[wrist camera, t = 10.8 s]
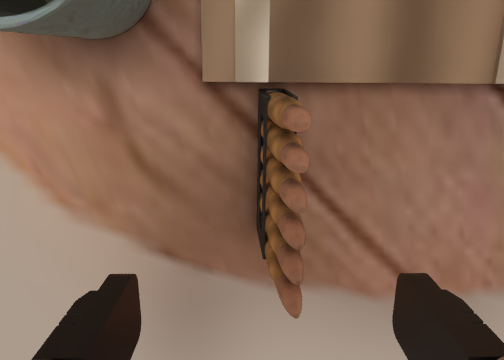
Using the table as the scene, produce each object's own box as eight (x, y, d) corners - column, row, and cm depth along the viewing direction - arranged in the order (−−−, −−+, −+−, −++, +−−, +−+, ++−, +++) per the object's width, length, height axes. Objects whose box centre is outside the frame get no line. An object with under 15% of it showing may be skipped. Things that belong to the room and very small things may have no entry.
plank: (602, -27, 25) (655, -42, 21) (576, 83, 26) (621, 84, 23) (204, -33, 24) (198, -50, 21) (207, 80, 26) (202, 81, 23)
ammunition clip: (280, 230, 29) (315, 333, 18) (256, 231, 29) (276, 335, 17) (285, 88, 26) (330, 100, 15) (258, 88, 26) (283, 100, 14)
